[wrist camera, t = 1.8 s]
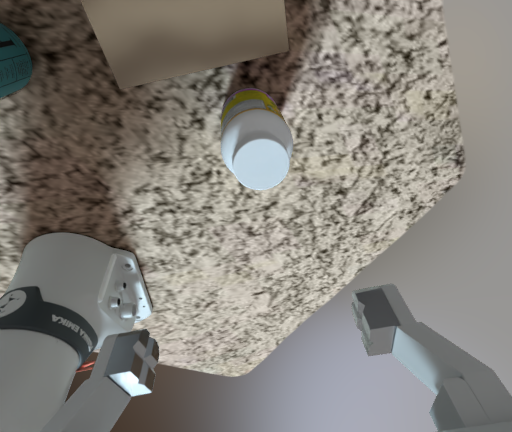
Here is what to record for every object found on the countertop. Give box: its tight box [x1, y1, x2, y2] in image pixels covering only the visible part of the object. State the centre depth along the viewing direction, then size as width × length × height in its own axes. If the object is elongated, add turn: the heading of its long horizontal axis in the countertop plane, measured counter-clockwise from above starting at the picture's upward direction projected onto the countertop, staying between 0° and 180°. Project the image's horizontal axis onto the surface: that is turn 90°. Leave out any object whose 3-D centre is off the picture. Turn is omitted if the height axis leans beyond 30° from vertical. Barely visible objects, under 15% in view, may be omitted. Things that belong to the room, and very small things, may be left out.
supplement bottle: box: [221, 88, 293, 190], centre depth 29 cm, size 7×7×13 cm
